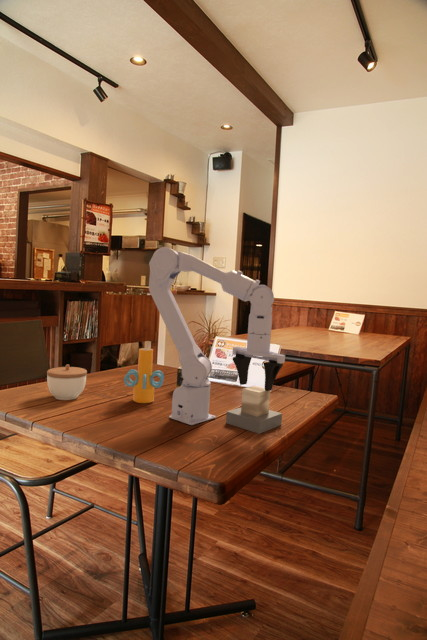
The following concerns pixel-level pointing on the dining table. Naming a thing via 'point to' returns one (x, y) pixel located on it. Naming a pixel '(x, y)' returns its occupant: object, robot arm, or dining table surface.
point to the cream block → (255, 401)
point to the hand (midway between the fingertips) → (255, 387)
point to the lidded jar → (66, 382)
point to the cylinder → (144, 378)
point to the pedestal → (254, 420)
